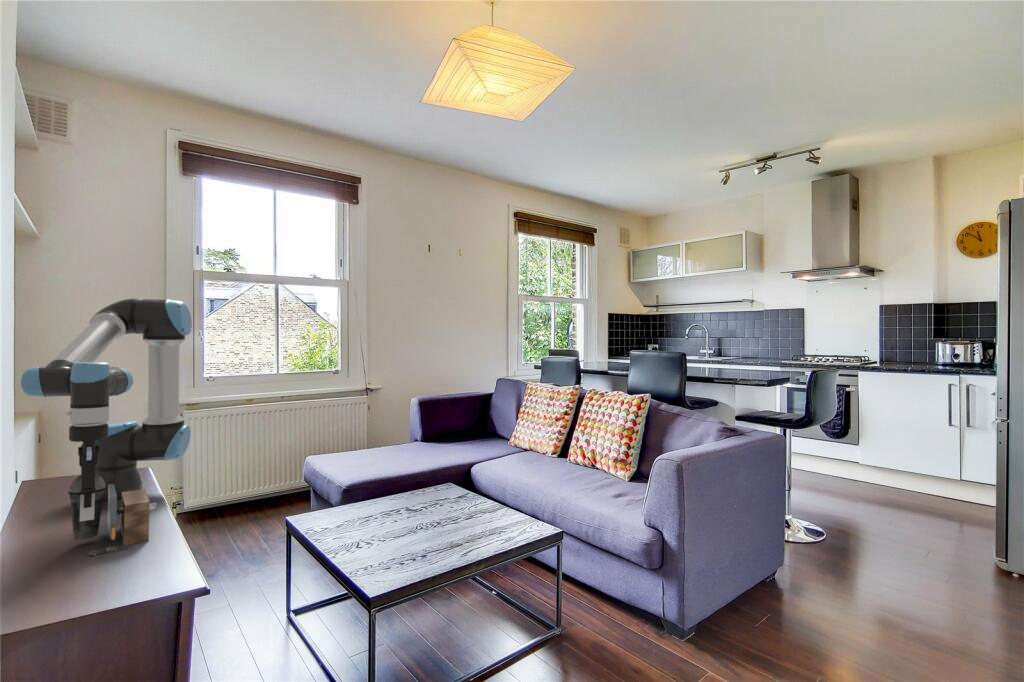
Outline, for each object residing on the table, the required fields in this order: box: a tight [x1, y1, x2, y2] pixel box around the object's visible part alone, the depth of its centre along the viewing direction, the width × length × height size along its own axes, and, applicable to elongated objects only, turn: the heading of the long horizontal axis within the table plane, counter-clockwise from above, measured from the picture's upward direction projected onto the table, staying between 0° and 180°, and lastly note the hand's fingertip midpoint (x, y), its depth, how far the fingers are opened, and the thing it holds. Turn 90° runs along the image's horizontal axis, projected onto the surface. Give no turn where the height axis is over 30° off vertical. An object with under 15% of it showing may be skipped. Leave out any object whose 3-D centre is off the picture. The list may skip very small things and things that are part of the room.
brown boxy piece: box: [88, 488, 150, 557], centre depth 128 cm, size 12×17×10 cm
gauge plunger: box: [106, 484, 158, 541], centre depth 131 cm, size 10×16×10 cm, turn 41°
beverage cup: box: [67, 474, 106, 541], centre depth 126 cm, size 7×7×20 cm
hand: (86, 515), depth 125 cm, fingers closed on beverage cup, 7 cm apart
